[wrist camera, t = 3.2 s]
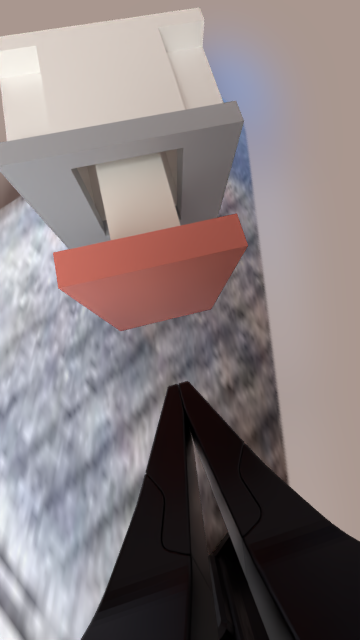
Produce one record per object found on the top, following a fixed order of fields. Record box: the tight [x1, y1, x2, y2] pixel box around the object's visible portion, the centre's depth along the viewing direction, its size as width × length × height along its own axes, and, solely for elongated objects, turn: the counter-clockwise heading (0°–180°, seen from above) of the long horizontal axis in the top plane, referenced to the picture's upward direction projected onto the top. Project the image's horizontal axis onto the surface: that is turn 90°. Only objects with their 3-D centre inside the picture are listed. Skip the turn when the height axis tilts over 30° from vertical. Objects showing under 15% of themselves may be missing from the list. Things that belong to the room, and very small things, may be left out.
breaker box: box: [0, 8, 244, 249], centre depth 14 cm, size 6×9×11 cm
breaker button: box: [53, 152, 248, 331], centre depth 10 cm, size 8×5×6 cm, turn 14°
